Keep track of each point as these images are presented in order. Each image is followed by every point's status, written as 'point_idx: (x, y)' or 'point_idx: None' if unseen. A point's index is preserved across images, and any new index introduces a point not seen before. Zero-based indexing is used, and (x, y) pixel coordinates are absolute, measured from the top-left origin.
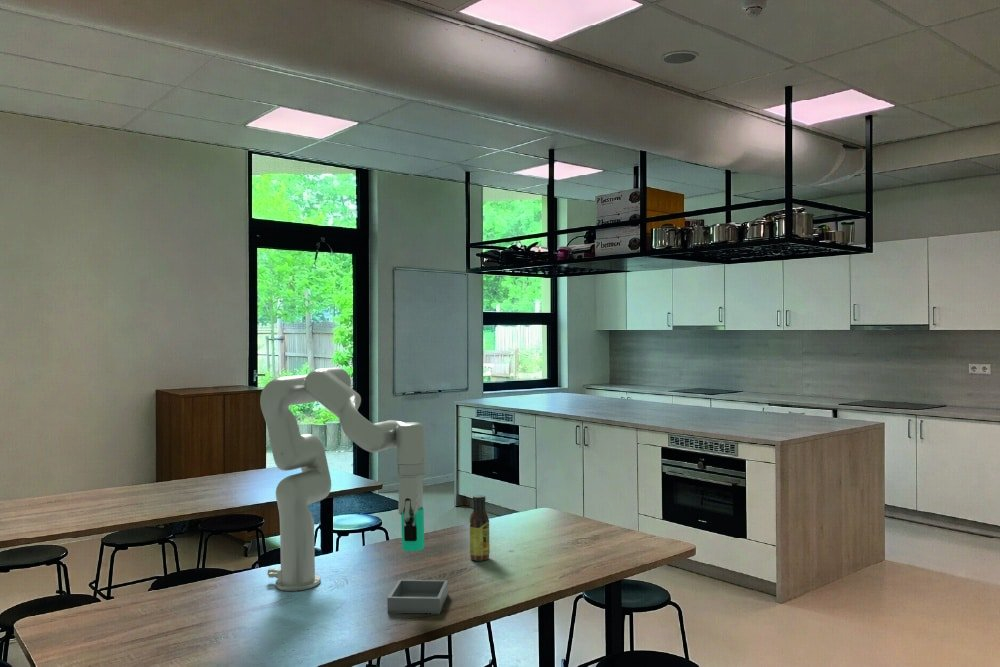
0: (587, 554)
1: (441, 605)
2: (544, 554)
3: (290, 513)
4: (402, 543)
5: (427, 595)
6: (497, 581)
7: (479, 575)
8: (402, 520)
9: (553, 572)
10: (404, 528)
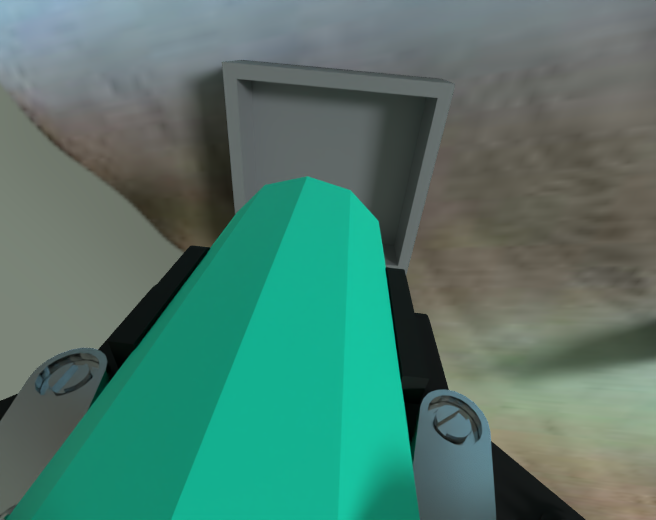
0: (592, 492)
1: None
2: (643, 445)
3: None
4: (252, 203)
5: (379, 195)
6: (479, 356)
7: (546, 323)
8: (133, 371)
9: (502, 441)
10: (127, 320)
